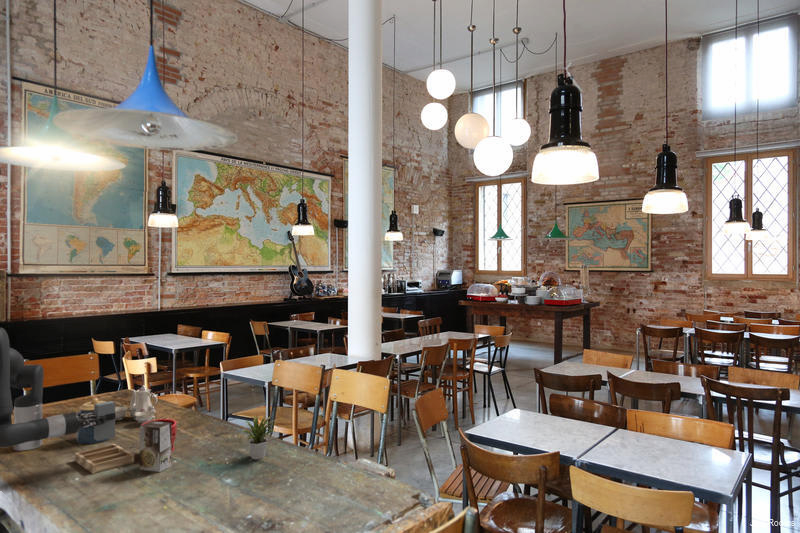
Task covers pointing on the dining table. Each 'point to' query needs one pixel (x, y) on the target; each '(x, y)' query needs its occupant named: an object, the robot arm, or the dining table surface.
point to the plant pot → (173, 429)
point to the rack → (104, 458)
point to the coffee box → (155, 446)
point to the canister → (86, 433)
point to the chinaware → (139, 406)
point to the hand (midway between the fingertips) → (112, 414)
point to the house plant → (258, 437)
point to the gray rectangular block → (109, 426)
